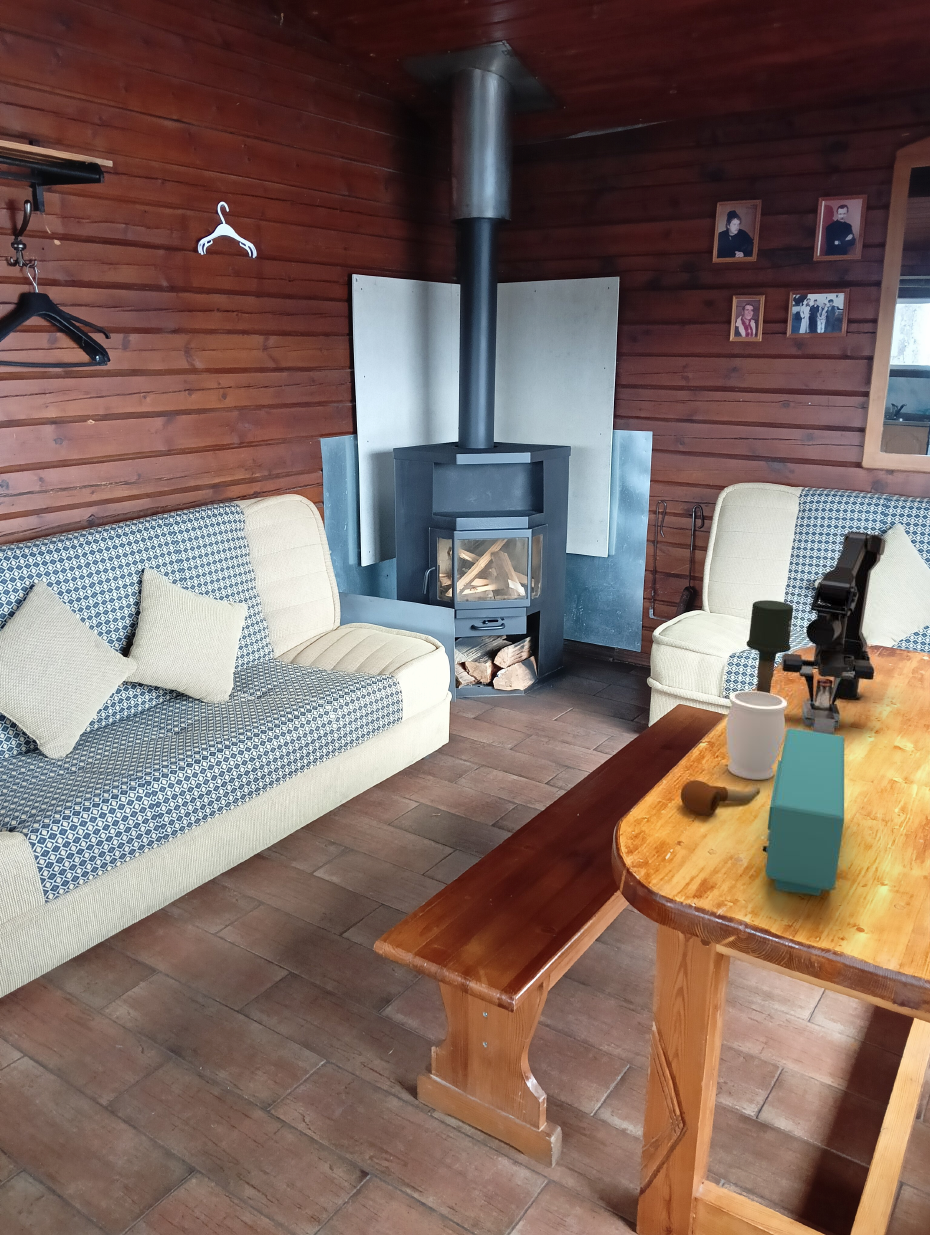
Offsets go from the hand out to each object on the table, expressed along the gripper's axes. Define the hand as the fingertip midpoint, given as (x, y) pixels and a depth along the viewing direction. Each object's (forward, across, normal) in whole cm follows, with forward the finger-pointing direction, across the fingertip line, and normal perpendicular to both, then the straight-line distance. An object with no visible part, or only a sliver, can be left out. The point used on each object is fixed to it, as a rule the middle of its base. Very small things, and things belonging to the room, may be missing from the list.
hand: (822, 703), depth 209 cm
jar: (+5, -16, -34) cm, 38 cm away
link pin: (+5, 0, 0) cm, 5 cm away
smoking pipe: (+5, -22, -49) cm, 54 cm away
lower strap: (+5, 0, +4) cm, 6 cm away
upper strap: (+5, 0, -2) cm, 5 cm away
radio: (+5, -10, -64) cm, 65 cm away
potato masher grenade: (+5, -14, -18) cm, 23 cm away
